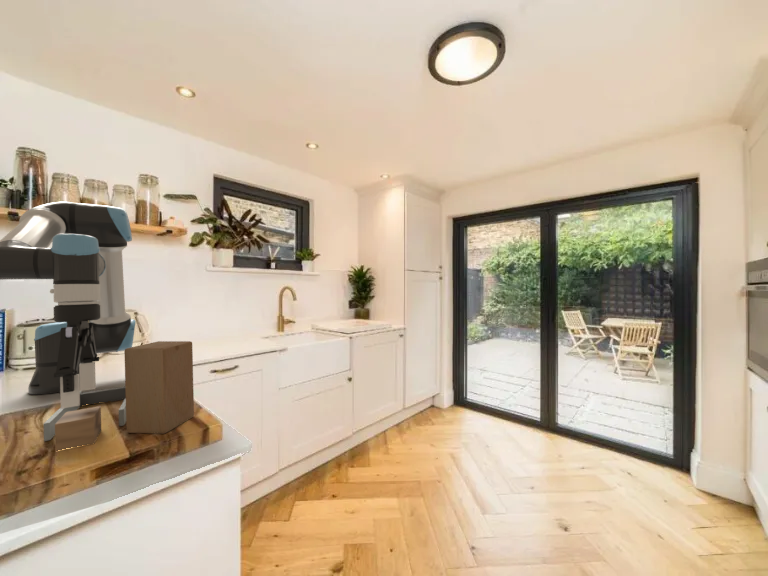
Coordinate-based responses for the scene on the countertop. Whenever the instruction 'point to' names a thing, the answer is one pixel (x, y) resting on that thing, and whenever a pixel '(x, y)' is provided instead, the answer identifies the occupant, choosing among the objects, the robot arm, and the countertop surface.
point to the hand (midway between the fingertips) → (79, 397)
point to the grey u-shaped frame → (89, 398)
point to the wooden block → (158, 386)
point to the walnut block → (78, 428)
